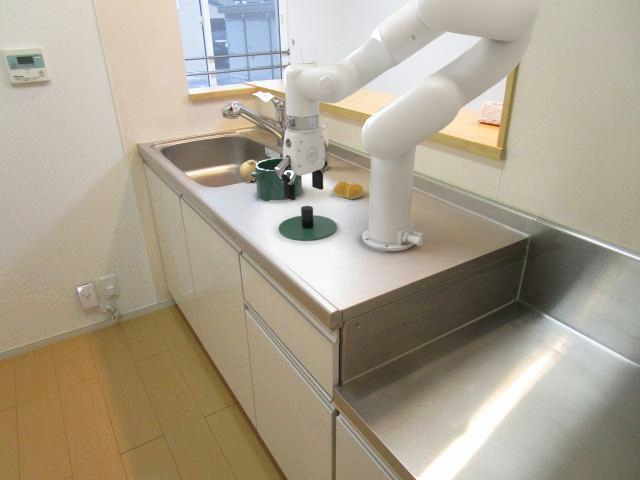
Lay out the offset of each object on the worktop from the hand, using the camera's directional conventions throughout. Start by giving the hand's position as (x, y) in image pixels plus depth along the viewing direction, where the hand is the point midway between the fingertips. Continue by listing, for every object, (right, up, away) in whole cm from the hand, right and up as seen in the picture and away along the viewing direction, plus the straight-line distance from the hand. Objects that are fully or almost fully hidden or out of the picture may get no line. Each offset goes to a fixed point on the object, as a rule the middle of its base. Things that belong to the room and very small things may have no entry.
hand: (304, 193), depth 110 cm
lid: (+1, -8, +4) cm, 9 cm away
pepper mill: (+4, +14, +51) cm, 53 cm away
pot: (-8, +3, +29) cm, 30 cm away
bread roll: (+12, +2, +26) cm, 29 cm away
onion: (-19, +9, +42) cm, 47 cm away
